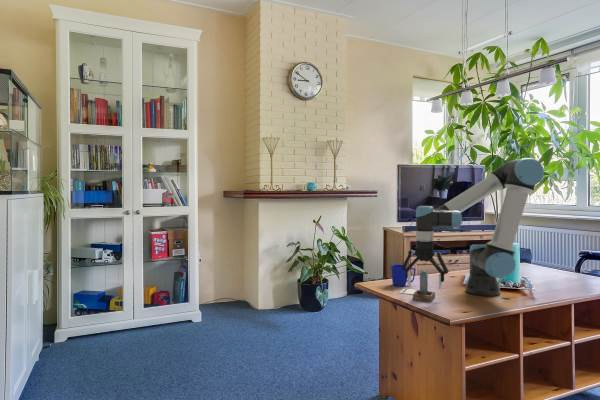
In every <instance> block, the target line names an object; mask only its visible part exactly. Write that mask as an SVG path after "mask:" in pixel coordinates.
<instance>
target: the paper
mask: <svg viewBox="0 0 600 400" xmlns="http://www.w3.org/2000/svg"><path fill="white" fill-rule="evenodd" d="M417 290H418V289H412V288H403V289H401V291H399V292H398V293H399V294H404V295H411V296H413V293H414V292H415V291H417Z"/></svg>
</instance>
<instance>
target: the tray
mask: <svg viewBox="0 0 600 400" xmlns="http://www.w3.org/2000/svg"><path fill="white" fill-rule="evenodd" d="M416 290H417V291H415V292H414V293H413V295H412V300H413V301H420V302H427V303H432V302H433V301H434V300H435V298H436V291H430V290H428V295H422V294H420V289H416Z"/></svg>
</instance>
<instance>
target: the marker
mask: <svg viewBox="0 0 600 400" xmlns="http://www.w3.org/2000/svg"><path fill="white" fill-rule="evenodd" d="M428 278H429V276H428V271H427V270H420V272H419V290H420V294H422V295H428V291H429V287H428V285H429V284H428V283H429V281H428V280H429V279H428Z"/></svg>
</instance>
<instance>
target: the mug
mask: <svg viewBox="0 0 600 400" xmlns="http://www.w3.org/2000/svg"><path fill="white" fill-rule="evenodd" d="M402 266H403V264H392V265H391V267H390V268H391V269H390V270H391V280H392V281H391V282H392V285H394V286H395V287H396V286H397V287H404V286H406V285H407V283H408V278H406V272H405V270H402V269H401V268H402ZM407 267H408V265H407V266H406V268H407ZM410 270H413V276H412V278H411V283H413V281H414V280H415V276H416V268H414V267H411V269H410Z"/></svg>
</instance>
